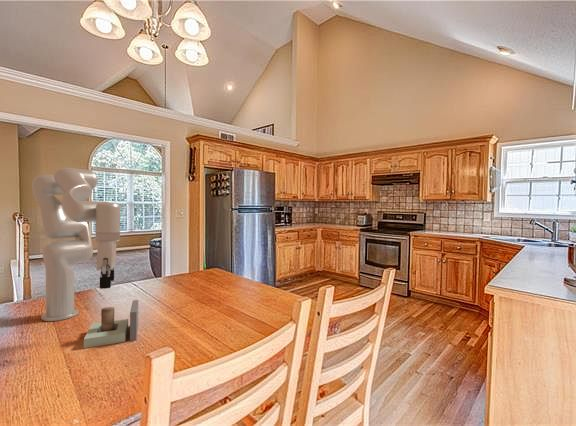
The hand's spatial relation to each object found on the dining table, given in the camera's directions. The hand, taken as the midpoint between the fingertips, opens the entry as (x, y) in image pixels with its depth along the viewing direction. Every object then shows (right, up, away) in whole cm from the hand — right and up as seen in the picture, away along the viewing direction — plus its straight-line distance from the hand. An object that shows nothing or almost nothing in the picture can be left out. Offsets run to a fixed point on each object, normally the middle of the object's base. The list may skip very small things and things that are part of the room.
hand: (107, 284), depth 106 cm
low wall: (+8, -19, +4) cm, 21 cm away
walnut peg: (0, -19, 0) cm, 19 cm away
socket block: (0, -19, 0) cm, 19 cm away
